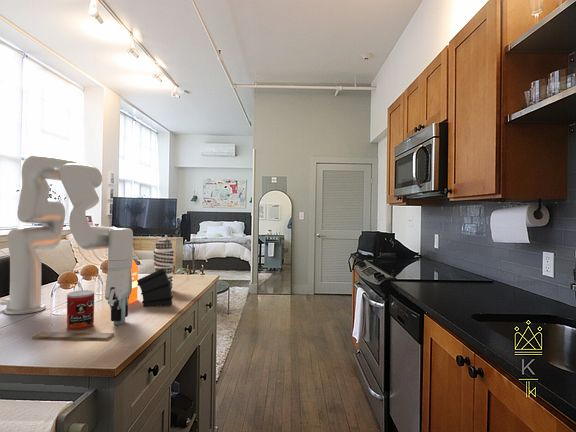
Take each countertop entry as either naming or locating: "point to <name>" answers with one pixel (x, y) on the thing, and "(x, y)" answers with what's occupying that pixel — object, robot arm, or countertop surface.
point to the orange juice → (134, 283)
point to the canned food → (80, 309)
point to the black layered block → (156, 289)
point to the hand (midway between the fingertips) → (119, 318)
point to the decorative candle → (164, 257)
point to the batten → (73, 336)
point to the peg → (121, 312)
